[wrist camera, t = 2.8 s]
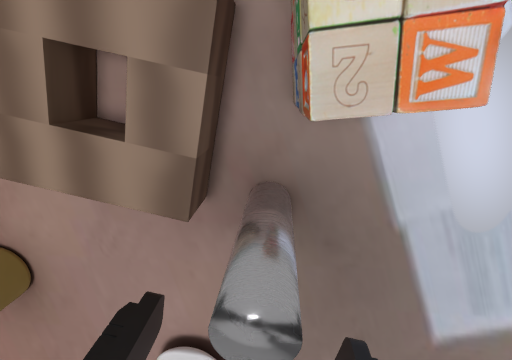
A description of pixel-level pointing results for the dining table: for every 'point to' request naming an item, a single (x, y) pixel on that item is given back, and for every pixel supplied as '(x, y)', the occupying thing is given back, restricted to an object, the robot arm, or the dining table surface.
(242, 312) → the long pin
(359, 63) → the stack of blocks
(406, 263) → the dining table surface
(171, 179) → the hole block
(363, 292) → the dining table surface
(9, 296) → the paper tube
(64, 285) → the dining table surface
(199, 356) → the spoon
